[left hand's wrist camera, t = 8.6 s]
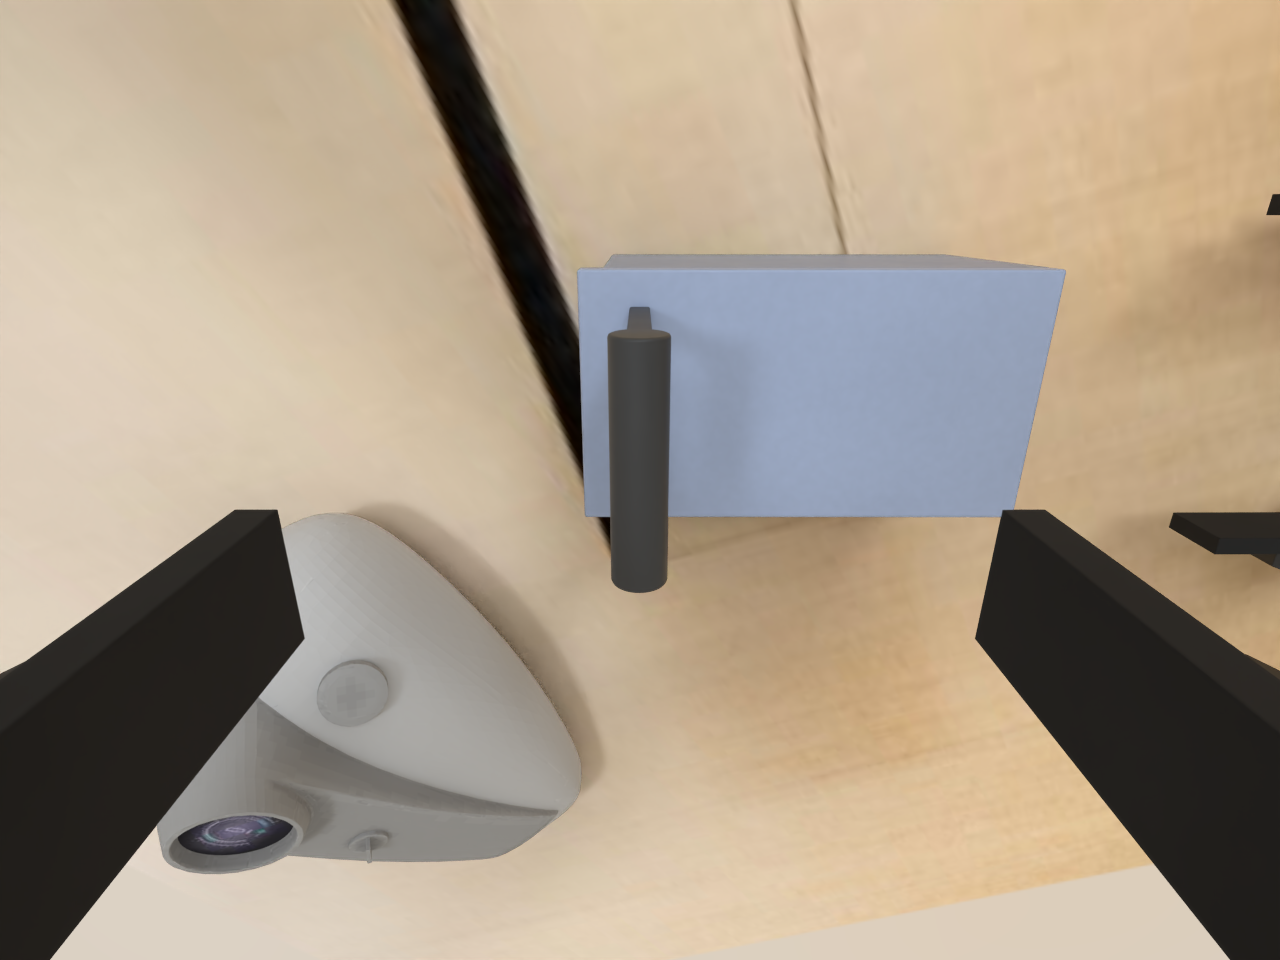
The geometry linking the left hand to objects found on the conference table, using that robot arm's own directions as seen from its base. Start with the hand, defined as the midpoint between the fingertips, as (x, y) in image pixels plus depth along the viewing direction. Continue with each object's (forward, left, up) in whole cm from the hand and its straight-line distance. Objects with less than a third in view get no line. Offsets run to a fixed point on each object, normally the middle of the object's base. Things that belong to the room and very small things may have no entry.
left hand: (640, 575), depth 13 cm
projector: (-7, -22, -22) cm, 32 cm away
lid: (+6, +2, -14) cm, 15 cm away
